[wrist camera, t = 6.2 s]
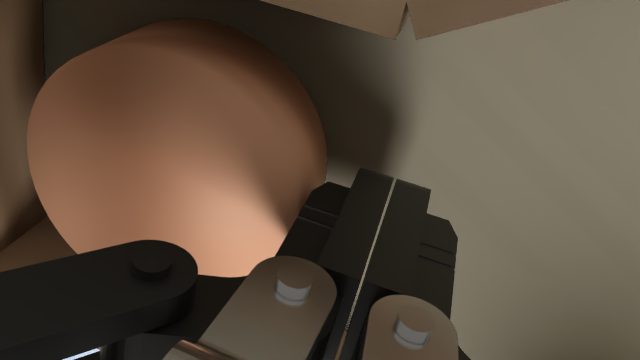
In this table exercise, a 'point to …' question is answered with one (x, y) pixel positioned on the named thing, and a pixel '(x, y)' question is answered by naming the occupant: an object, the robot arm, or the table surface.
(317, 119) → the salmon orange rounded piece
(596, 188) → the table surface
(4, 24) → the dock
